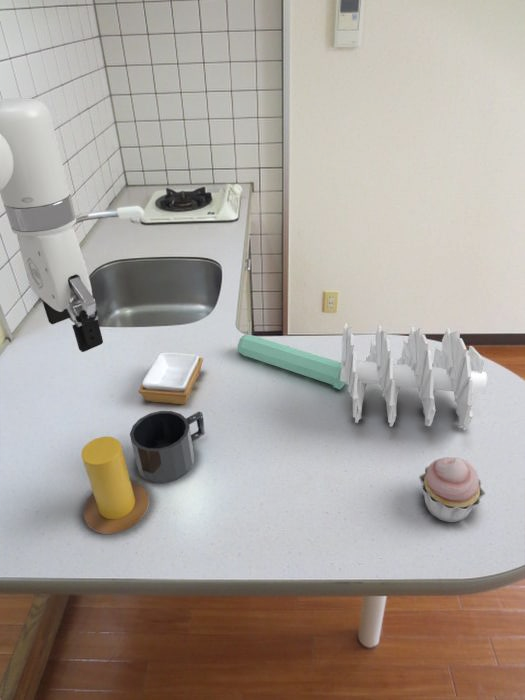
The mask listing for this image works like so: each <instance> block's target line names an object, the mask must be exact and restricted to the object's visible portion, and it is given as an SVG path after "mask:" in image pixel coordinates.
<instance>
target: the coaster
mask: <svg viewBox="0 0 525 700" xmlns="http://www.w3.org/2000/svg"><path fill="white" fill-rule="evenodd" d="M130 482H131V486H132V489H133V493H134V497H135V505H134V508H133V509H132V511H131V512H130V513H128V514H127V515H126V516H124V517H122V518H119V519H107V518H105V517H103V516H102V515H101V514H100V512H99V509H98V506H97V503H96V499H95V496H94V493H92V495H90V496H89V498H88V499H87V501H86V503H85V504H84V508H83V517H84V522H85V523H86V525H87V527H88V528H89V529H90V530H92V531H93V532H96V533H97V534H102V535H116V534H121V533H123V532H126V531H129V530H130V529H132V528H134V527H135V526H136V525H138V524H139V523H140V522H141V521H142V520H143V519H144V517H145V516H146V514H147V512H148V510H149V507H150V497H149V494H148V491H147V490H146V488H145V487H144V486H142V485H141V484H139V483H137V482H135V481H131V480H130Z"/></svg>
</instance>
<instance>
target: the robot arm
mask: <svg viewBox="0 0 525 700" xmlns="http://www.w3.org/2000/svg"><path fill="white" fill-rule="evenodd" d="M0 197H1V200H2V204H3V208H4V210H5V213H6V217H7V219H8V222H9V223H8V224H9V226H10V229H11V231H12V233H13V234H15V235H16V237H17V243H18V246H19V250H20V254H21V258H22V262H23V265H24V269H25V273H26V277H27V280H28V283H29V287H30V288H31V289H30V290H32V292H33V293H34V294H35V295H36V296H37V297H39V298H40V299H41V301H42V306H43V308H44V311H45V314H46V318H47V321H48V323H49V324H50V325H55V324H58V323H60V322H63V321H65V320H68V319H70V318H71V319H72V321H73V323H74V324H72V326H71V327H72V330H73V333H74V337H75V340H76V343H77V347H78V350H79V351H80V352H81V353H85V352H87V351H89V350H91V349H94V348H97V347H98V346H101V345H103V344H104V338H103V336H102V335H103V334H102V331H101V328H100V323H99V316H98V311H97V302H96V300H95V298H94V296H93V289H92V284H91V280H90V276H89V271H88V269H87V265H86V261H85V259H84V255H83V252H82V249H81V246H80V243H79V240H78V237H77V235H76V231H75V228H74V225H75V224H76V223H77V216H76V212H75V208H74V204H73V200H72V196H71V191H70V188H69V184H68V179H67V175H66V172H65V167H64V163H63V159H62V155H61V151H60V147H59V142H58V139H57V135H56V131H55V127H54V122H53V118H52V115H51V112H50V110H49V108H48V106H47V105H46V104H45V103H44V102H43V101H41V100H39V99H36V98H32V97H31V98H30V97H16V98H15V97H14V98H3V99H0ZM75 298H77V299H75ZM71 299H75V300H73V301H71ZM80 306H81V309H82V310H80V311H79V314H78V313H77V311H76V309H75V308H78V307H80Z"/></svg>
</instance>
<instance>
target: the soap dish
mask: <svg viewBox="0 0 525 700" xmlns="http://www.w3.org/2000/svg"><path fill="white" fill-rule="evenodd" d="M203 362H204V358H203V357H200V355H198V354H195V353H181V352H171V351H163V352H160V353H159V354H158V355H157V357H156V358H155V360H154V362H153V363H152V365H151V366H150V368H149V369H148V371H147V373H146V375H145V376H144V378H143V380H142V383H141V385H140V386H139V389H138V390H137V392H138V393H139V394H140V395H141V396H142V397H143V398H144V399H145V400H146V402H154V403H163V404H174V405H186V403H187V401H188V399H189V397H190V394H191V393H192V390H193V388H194V386H195V384H196V381H197V379H198V377H199V375H200V373H201V368H202V365H203Z"/></svg>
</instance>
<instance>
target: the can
mask: <svg viewBox="0 0 525 700" xmlns="http://www.w3.org/2000/svg"><path fill="white" fill-rule="evenodd" d="M80 453H81V455H80V457H81V459H82V463H83V466H84V468H85V471H86V474H87V478H88V481H89V484H90V488H91V490H92V494H94V496H95V499H96V503H97V506H98V509H99V512H100V514H101V515H102V516H103V517H105V518H107V519H119V518H122V517H124V516H126V515H127V514H128V513H130V512H131V511H132V509H133V508H134V505H135V497H134V493H133V489H132V486H131V482H132V481H131V478H130V474H129V471H128V470H129V469H128V467H127V463H126V460H125V455H124V452H123V447H122V444H121V442H120V441H119V439H117V438H115V437H112V436H100V437H96V438H94V439H92V440H90V441H89V442H88V443H86V444H85V445H84V447H83V448H82V450H81V452H80ZM130 481H131V482H130Z"/></svg>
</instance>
